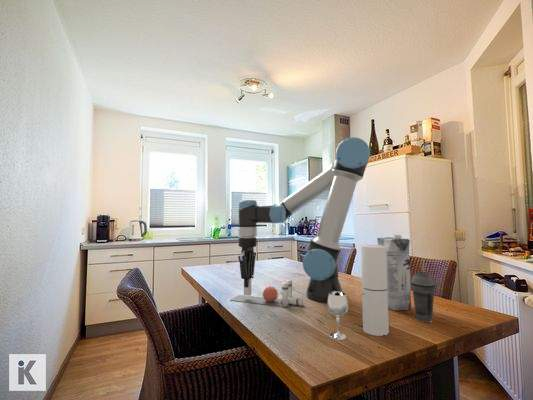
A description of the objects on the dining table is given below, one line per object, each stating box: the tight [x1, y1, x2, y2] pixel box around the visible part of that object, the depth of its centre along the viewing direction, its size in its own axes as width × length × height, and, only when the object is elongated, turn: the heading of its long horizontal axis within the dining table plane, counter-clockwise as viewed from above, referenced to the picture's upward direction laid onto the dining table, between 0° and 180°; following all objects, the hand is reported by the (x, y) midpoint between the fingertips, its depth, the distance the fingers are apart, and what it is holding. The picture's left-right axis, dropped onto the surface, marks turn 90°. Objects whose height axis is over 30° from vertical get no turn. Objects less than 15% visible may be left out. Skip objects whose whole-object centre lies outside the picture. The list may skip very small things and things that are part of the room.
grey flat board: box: [230, 294, 290, 308], centre depth 112 cm, size 24×8×1 cm, turn 69°
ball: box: [262, 286, 279, 302], centre depth 111 cm, size 6×6×6 cm
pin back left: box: [281, 282, 289, 308], centre depth 106 cm, size 2×2×8 cm
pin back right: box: [285, 279, 293, 298], centre depth 111 cm, size 2×2×8 cm
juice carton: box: [376, 234, 412, 312], centre depth 105 cm, size 9×10×27 cm
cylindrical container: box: [360, 244, 390, 337], centre depth 83 cm, size 7×7×25 cm
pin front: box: [280, 296, 304, 306], centre depth 107 cm, size 2×2×8 cm
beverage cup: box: [410, 258, 437, 323], centre depth 92 cm, size 7×7×20 cm
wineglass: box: [326, 291, 349, 341], centre depth 79 cm, size 6×6×12 cm
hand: (247, 294), depth 114 cm, fingers closed
